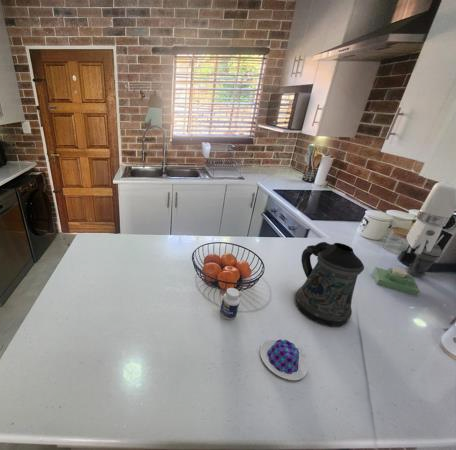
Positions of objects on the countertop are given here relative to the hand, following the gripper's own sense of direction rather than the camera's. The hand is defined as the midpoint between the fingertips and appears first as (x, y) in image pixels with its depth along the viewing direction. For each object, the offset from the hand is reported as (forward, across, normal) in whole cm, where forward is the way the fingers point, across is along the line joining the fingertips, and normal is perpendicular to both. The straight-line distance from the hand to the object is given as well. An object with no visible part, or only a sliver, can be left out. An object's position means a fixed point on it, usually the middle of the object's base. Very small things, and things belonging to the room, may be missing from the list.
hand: (405, 261), depth 94 cm
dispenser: (+12, 0, 0) cm, 12 cm away
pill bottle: (+13, -52, +51) cm, 74 cm away
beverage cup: (+12, +16, -10) cm, 23 cm away
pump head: (+6, 0, 0) cm, 7 cm away
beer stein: (+12, -31, +26) cm, 42 cm away
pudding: (+12, -60, +33) cm, 69 cm away
